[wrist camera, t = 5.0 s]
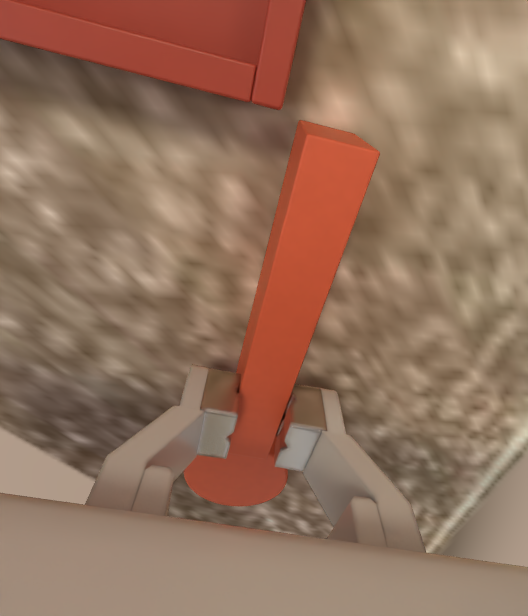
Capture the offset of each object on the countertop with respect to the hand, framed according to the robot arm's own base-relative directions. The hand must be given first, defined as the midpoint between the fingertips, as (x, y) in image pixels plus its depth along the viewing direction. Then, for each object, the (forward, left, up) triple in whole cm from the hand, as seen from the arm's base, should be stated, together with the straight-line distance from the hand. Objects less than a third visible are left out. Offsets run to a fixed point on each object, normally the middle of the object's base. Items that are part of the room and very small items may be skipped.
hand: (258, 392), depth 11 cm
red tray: (+5, -15, -2) cm, 16 cm away
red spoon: (0, 0, -2) cm, 2 cm away
